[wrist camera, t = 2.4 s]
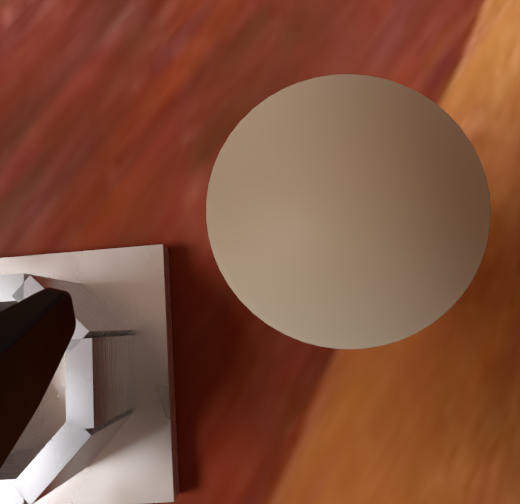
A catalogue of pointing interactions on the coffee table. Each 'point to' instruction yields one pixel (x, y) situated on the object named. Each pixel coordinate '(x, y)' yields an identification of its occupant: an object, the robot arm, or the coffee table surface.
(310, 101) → the wooden post
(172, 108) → the coffee table surface
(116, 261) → the cup bracket
